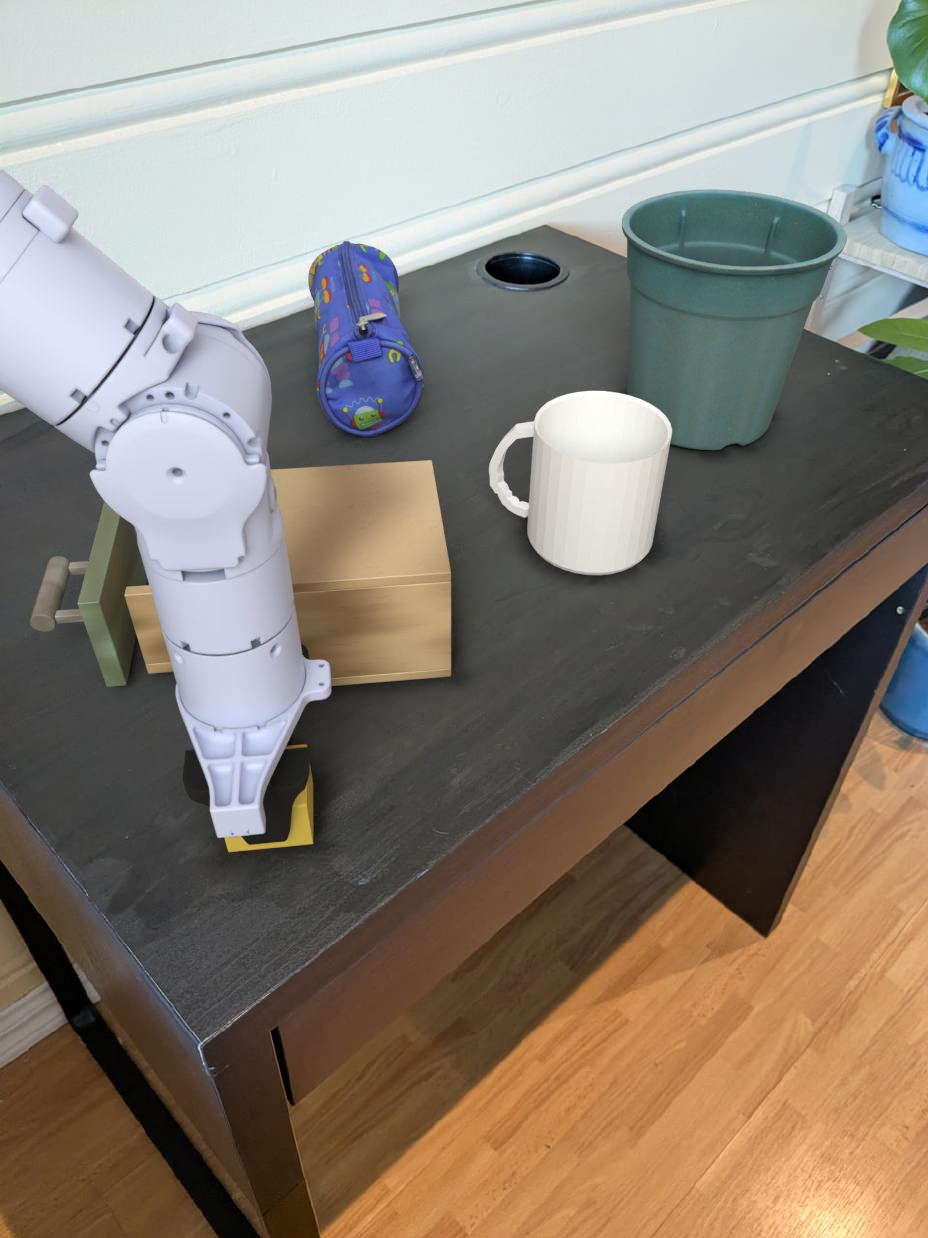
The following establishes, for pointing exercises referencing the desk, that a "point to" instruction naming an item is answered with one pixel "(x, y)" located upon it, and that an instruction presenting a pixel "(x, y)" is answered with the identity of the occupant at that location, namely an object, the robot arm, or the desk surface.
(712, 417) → the flower pot
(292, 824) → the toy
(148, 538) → the robot arm
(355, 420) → the pencil case
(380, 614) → the cabinet
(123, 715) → the desk surface
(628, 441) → the mug
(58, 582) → the drawer
